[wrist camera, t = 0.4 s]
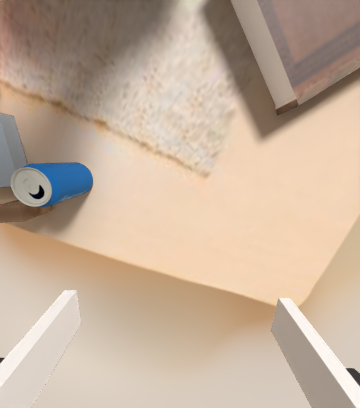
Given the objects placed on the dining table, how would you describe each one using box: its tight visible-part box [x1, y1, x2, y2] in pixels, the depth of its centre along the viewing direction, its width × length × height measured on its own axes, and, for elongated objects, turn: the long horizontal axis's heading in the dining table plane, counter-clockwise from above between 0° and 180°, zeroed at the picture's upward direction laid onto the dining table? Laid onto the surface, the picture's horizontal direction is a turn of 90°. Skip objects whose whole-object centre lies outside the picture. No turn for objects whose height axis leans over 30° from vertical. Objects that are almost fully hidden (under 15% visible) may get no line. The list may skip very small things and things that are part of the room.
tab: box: [0, 200, 52, 223], centre depth 34 cm, size 3×5×7 cm, turn 94°
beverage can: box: [10, 163, 93, 207], centre depth 30 cm, size 6×6×12 cm
